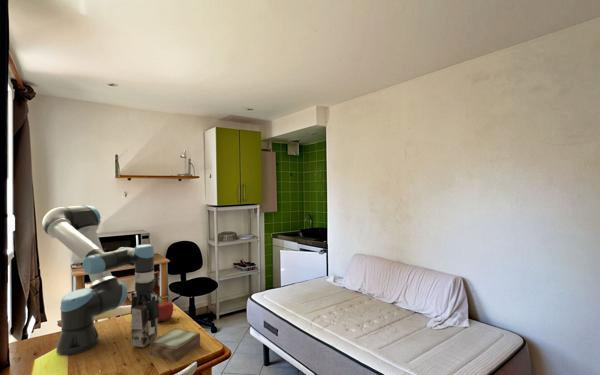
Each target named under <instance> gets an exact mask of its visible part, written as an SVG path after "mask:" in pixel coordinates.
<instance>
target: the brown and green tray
mask: <svg viewBox="0 0 600 375" xmlns="http://www.w3.org/2000/svg"><path fill="white" fill-rule="evenodd" d="M197 346H198V347H200V346H201V333H200V332H195V331H190V330H189V331H188V330H185V329H181V328H175V327H174V328H173V329H171V330H169V331H168V332H166V333H163V334H162V335H161V336H158V337H157V338H156V339H154V340H153V341H151V342H150V343H149V355H150V356H154V357H157V358H161V359H164V360H168V361H172V362H178V361H180V360H181V359H183V358H185V356H187V355H188V354H190V353H191V352H193V349H194V350H195V349H196V348H198V347H197Z"/></svg>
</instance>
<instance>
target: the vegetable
mask: <svg viewBox="0 0 600 375" xmlns="http://www.w3.org/2000/svg"><path fill="white" fill-rule="evenodd" d="M158 306H159V318H157V323H158V322H165V321H167V320H169V319H171V317H172V316H173V314H174V304H173V302H171V301H165V302H163V300H162V299H161V298H158Z"/></svg>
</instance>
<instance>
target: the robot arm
mask: <svg viewBox="0 0 600 375" xmlns="http://www.w3.org/2000/svg"><path fill="white" fill-rule="evenodd" d="M101 219H102V218H101V214H100V212H99V210H98V209H97V208H96V207H95V206H92V205H84V204H83V205H82V204H81V205H75V206H60V207H56V208H53V209H50V210H49V211H47V213H46V214H45V215H44V217H43V219H42V222H41V224H42V225H41V226H42V229H43V231H44V232H45V234H46V235H48V236H49V237H51V238H54V239H57V240H58V241H59V242H60V243H61V244H63V245H64V246H65V247H66V248H67V249H69V251H71V252H72V253H73V254H74V255H76V256H77V257H78V259H80V260H82V269H83V272H85V274H87V275H88V276H89V279H90V280H89V281H90V286H89V287H85V288H80V289H75V290H73V291H71V292H69V293H67V294H65V295H64V296H63V297H62V298H61V302H60V307H59V308H60V320H61V321H60V324H61V325H60V327H61V332H60V335H59V338H58V341H57V344H56V353H57V354H58V355H61V354H62V356H71V355H76V354H80V353H83V352H86V351H89V350H90V349H93V348H94V347H96V346H97V345H98V344H99V342H100V335H99V333H98V331H97V329H96V326H95V317H97V316H100V315H102V314H104V313H106V312H110V311H113V310H115V309H117V308H120V307H122V306H123V305H124V304H125V303H126V300H127V297H128V288H127V286H126V284H125V283H124V282H123V281H119V280H118V278H117V276H113V275H112V273H111V270H114V269H119V268H122V267H126V266H132V267H134V280H135V282H134V290H135V291H134V292H133V291H132V292H131V293H130V295H131V305H130V315H131V316H132V308H134V307H136V306H139V305H141V304H143V303H144V304H145V305H146V307H148V314H149V318H150V320H148V335H151V334H153V333H155V319H157V318H159V306H158V304H159V301H158V299H160V298H159V294H157V295H155V294H154V288H155V280H154V279H155V248H154V245H152V244H146V243H145V244H138V245H136V246H135V247H130V246H129V247H128V246H121V247H118V248H117V249H116V250H111V251H108V252H107V251H104V249H103V246H102V244H101V241H100V238H99V235H98V232H97V231H98V230H99V226H100V225H101ZM147 302H148V303H147ZM152 316H153V317H152Z"/></svg>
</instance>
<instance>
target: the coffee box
mask: <svg viewBox="0 0 600 375" xmlns="http://www.w3.org/2000/svg"><path fill="white" fill-rule="evenodd" d="M147 303H148V302H147ZM152 317H153V316H152ZM148 320H150V318H149V314H148V307H146V305H145V304H144V302H143V304H141V305H139V306H136V307H134V308H132V315H131V331H130V332H131V333H130V334H131V336H130V337H131V342H130V344H131V346H134V347H138V348H139V347H140V348H144V347H146V346H147V345H150V342H152V341H154V340H155V339H157V338H158V322H157V319H155V333H153V334H151V335H148Z"/></svg>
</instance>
